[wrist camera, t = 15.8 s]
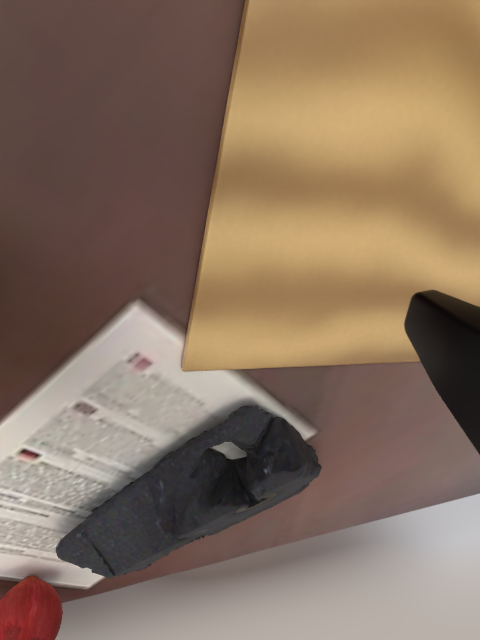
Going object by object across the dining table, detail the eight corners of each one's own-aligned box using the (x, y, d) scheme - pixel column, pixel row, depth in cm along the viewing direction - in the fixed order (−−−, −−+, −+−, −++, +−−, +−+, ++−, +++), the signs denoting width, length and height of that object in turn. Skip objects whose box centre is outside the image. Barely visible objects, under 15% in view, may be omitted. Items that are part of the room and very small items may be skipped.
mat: (462, 354, 34) (467, 359, 34) (180, 365, 26) (182, 372, 26) (714, 1, 21) (728, 2, 20) (280, -208, 12) (287, -215, 12)
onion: (-16, 573, 36) (-38, 692, 30) (54, 554, 37) (46, 664, 31) (7, 596, 39) (-7, 705, 33) (70, 578, 41) (67, 680, 35)
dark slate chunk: (23, 521, 32) (15, 587, 29) (263, 385, 30) (285, 439, 26) (141, 562, 42) (145, 614, 39) (327, 463, 40) (350, 509, 36)
